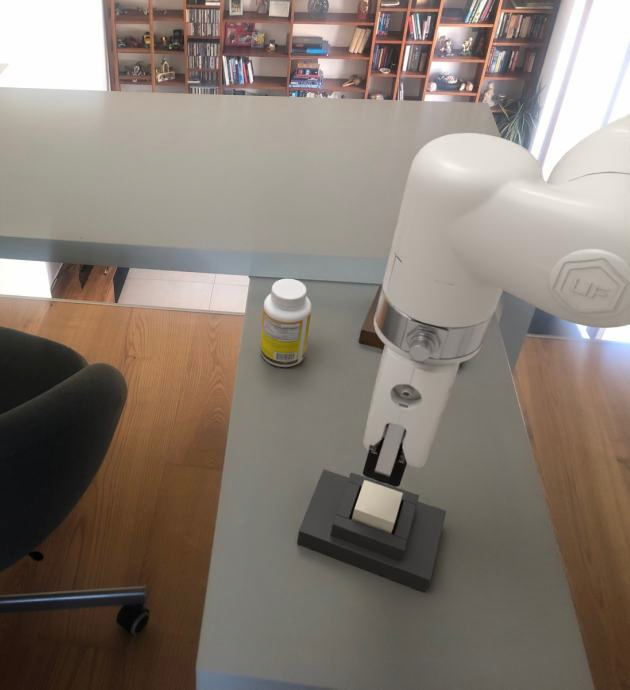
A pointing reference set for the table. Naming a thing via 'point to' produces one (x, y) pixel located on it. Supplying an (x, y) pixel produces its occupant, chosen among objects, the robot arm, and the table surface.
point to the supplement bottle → (285, 323)
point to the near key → (377, 506)
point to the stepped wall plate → (373, 532)
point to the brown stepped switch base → (371, 326)
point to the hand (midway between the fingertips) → (382, 474)
